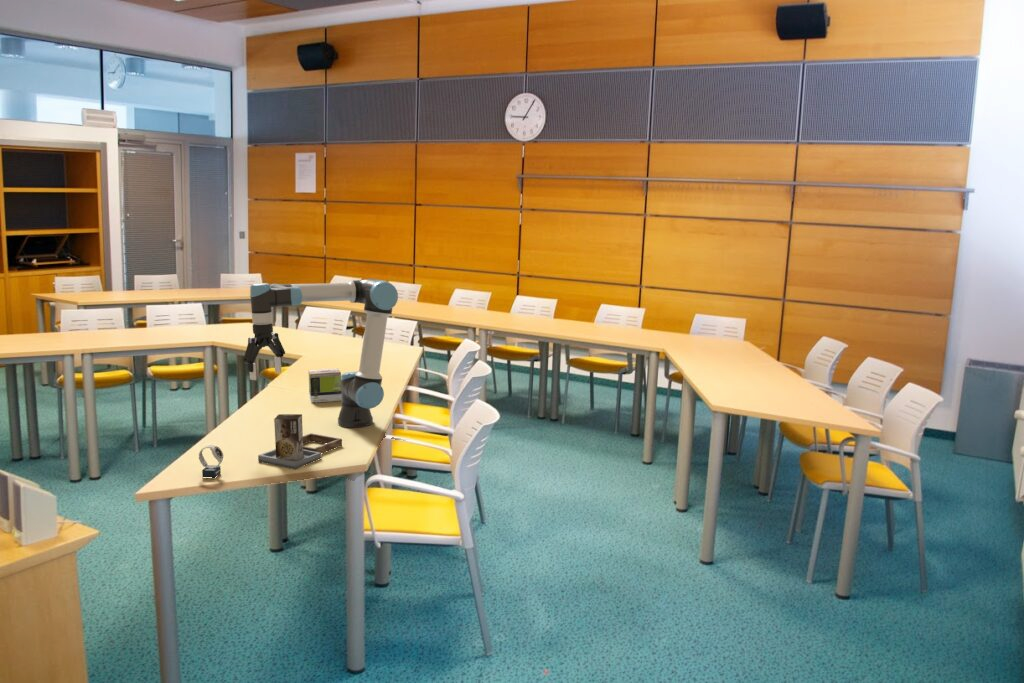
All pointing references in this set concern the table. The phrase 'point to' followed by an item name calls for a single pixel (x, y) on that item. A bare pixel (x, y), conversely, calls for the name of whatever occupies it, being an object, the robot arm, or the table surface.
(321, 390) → the tea box
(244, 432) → the table surface
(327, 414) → the table surface
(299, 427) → the coffee box
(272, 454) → the tray
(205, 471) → the watch
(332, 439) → the collar
